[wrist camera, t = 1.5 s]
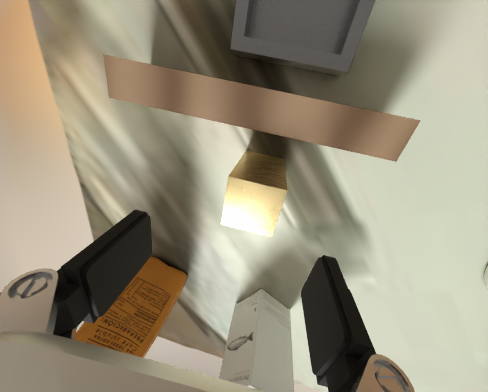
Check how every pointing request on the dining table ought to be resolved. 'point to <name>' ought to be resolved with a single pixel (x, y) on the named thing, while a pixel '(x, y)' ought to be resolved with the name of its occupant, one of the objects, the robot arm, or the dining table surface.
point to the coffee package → (137, 311)
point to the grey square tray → (300, 32)
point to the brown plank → (259, 108)
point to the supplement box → (259, 345)
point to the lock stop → (255, 193)
